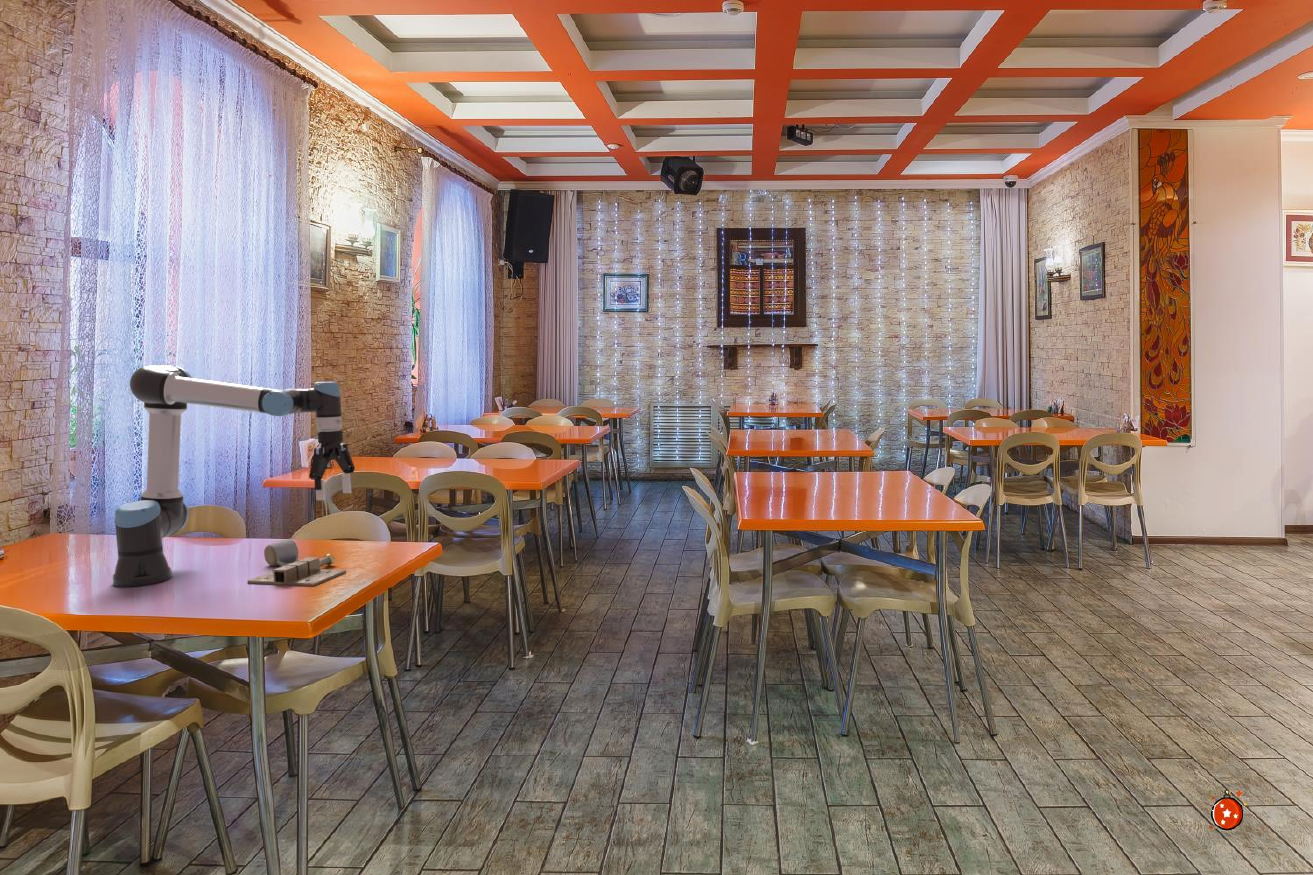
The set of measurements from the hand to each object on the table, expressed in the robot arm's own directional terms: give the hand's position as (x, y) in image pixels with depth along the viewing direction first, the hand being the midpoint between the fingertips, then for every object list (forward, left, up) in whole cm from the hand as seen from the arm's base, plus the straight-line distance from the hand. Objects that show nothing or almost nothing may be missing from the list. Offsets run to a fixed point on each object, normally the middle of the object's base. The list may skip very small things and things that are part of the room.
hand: (334, 496), depth 272 cm
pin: (-1, -12, -22) cm, 25 cm away
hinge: (-1, -19, -22) cm, 29 cm away
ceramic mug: (-16, -5, -22) cm, 28 cm away
